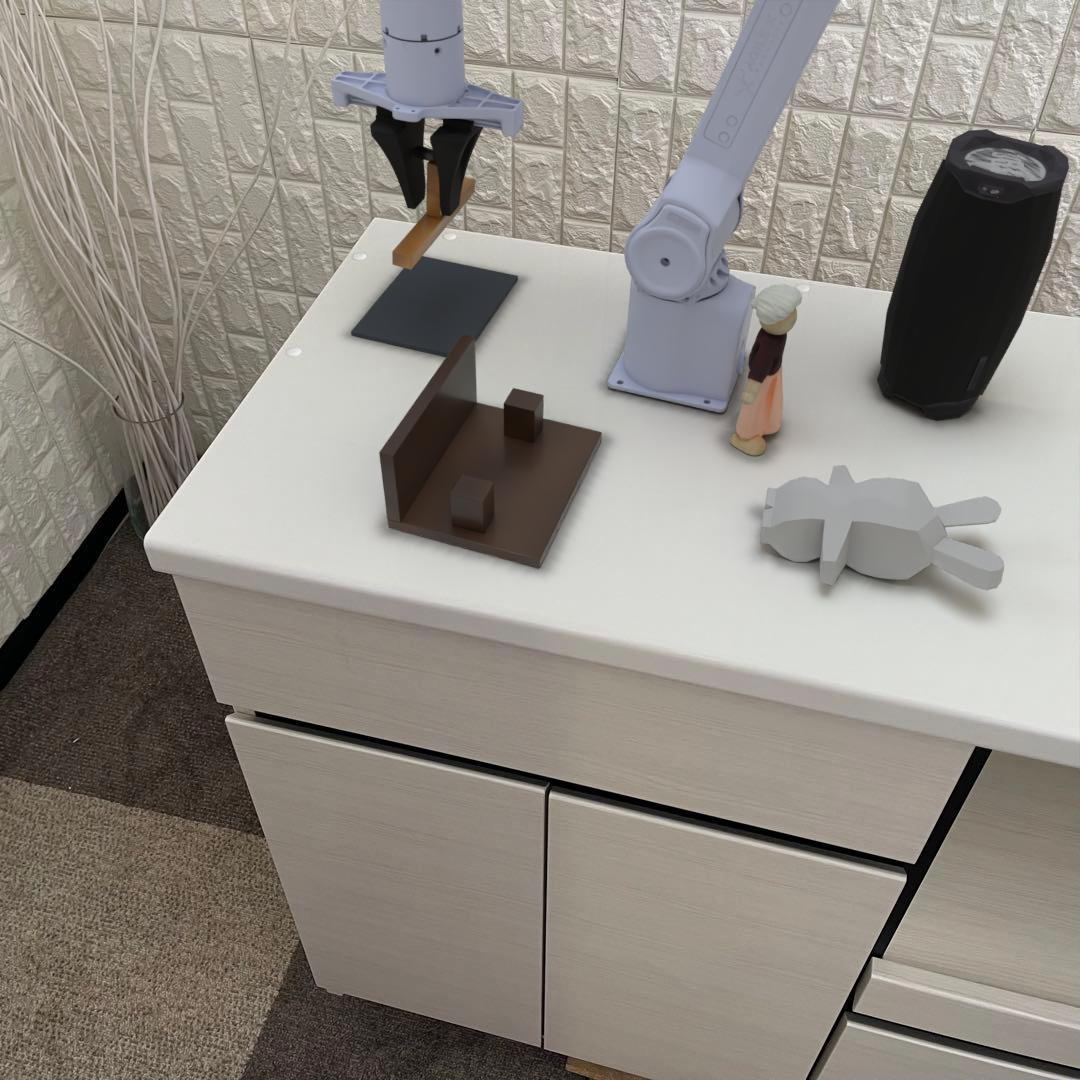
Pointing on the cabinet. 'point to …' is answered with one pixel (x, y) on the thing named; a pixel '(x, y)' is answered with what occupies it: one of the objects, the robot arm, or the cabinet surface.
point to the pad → (435, 305)
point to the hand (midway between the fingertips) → (433, 206)
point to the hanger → (428, 215)
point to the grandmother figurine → (766, 368)
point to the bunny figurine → (876, 529)
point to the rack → (482, 466)
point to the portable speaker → (969, 270)
